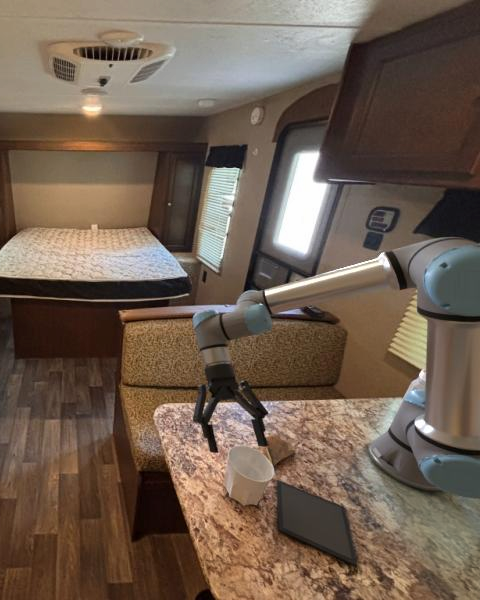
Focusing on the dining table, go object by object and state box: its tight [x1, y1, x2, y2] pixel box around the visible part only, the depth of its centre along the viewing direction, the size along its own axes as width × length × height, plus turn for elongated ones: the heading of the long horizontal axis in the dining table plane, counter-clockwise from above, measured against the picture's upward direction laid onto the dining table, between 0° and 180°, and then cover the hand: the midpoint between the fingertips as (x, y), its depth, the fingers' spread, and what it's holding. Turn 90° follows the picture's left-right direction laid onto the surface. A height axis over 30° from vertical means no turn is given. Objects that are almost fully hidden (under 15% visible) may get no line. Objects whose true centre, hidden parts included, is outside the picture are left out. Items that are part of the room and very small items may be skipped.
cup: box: [222, 444, 275, 507], centre depth 77 cm, size 10×10×10 cm
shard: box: [265, 433, 296, 467], centre depth 91 cm, size 11×8×2 cm
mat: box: [276, 479, 358, 568], centre depth 73 cm, size 14×14×1 cm
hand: (239, 449), depth 79 cm, fingers open, 13 cm apart
